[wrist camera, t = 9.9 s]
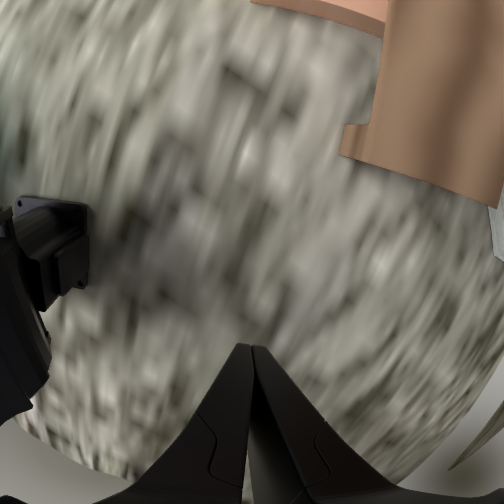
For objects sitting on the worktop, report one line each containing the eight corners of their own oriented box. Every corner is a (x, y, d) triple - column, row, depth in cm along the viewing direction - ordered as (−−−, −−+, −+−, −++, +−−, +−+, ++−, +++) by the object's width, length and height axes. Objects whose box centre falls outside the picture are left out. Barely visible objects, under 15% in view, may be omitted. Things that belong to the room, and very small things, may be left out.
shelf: (338, 154, 18) (369, 163, 14) (373, -73, 11) (398, -102, 6) (454, 191, 19) (496, 209, 15) (475, -17, 12) (510, -31, 7)
